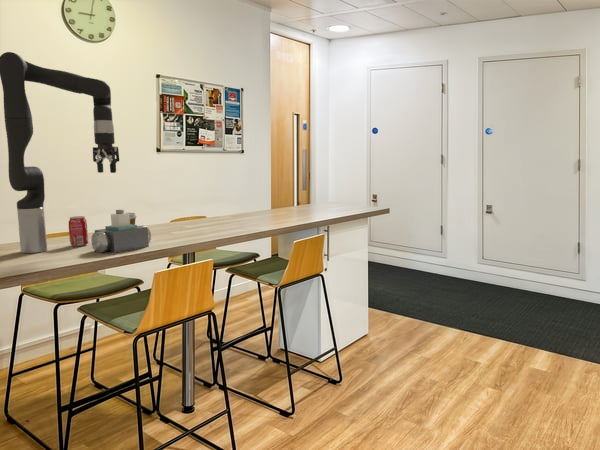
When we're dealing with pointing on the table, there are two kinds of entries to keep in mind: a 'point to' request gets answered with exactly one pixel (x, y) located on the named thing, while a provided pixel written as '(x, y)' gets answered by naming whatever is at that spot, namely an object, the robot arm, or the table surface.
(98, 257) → the table surface
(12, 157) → the robot arm
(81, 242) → the soda can
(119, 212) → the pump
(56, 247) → the table surface
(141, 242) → the motor
